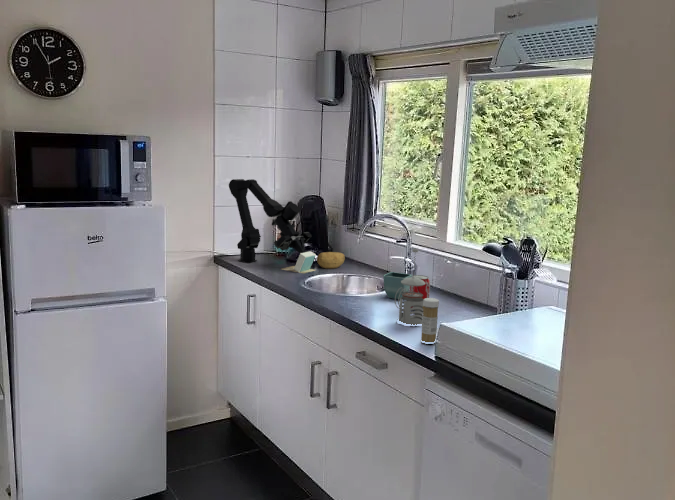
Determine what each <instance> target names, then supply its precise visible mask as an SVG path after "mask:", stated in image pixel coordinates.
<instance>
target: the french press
mask: <svg viewBox="0 0 675 500" xmlns="http://www.w3.org/2000/svg"><path fill="white" fill-rule="evenodd" d="M412 252H413V253H414V254H417V253H419V249H418V248H414V247H413V249H412ZM413 262H414V263H413V268H415V264H416V257H414V261H413ZM414 275H415V272H412V277H410V278H406V279H404V280H402V281H401V283H402V284H403V285H407V286H423V285H425V284H426V283H425V282H424V281H423V280H421V279H419V278H415V277H414ZM401 288H402V287H401ZM399 289H400V288H399ZM399 289H398V291H399ZM404 289H405V291H403V290H404ZM404 289H403V288H402V291H403V293H402V296H403V297H401V298H400V299H399V298H398V299H396V295H395V299H394V304H395V307H396V308H397V309H399V310H398V313H399V314H398V319H399V321H401V322H403V323H406V324H411V325H412V324H413V325H415V324H416V325H417V324H422V318H423V306H424V305H423V300H424V299H423V298H421V297H423V294H421V293H416V292H413V287H412V292H410V291H408V292H406V288H404ZM398 291H397V292H398ZM402 291H401V292H402ZM396 294H397V293H396ZM400 294H401V293H400ZM400 294H399V297H400ZM396 300H397V301H396ZM397 304H398V306H397ZM411 306H415V307H413V308H411ZM414 310H415V311H414Z"/></svg>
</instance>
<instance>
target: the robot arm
mask: <svg viewBox="0 0 675 500" xmlns="http://www.w3.org/2000/svg"><path fill="white" fill-rule="evenodd" d="M228 188H229V191H230V194H231V195H232V196H233V198H234V199H235V201H236V205H237V209H238V214H239V218H240V222H241V227H242V231H241V234H240V236H241V239H240V241H239V242H238V243H237V245H236V246H237V249H238V250H240V253H239V254H240V259H237V261H238V262H241V263H247V264H251V263H254V262H258V260H257V259H256V249H258V247H259V244H260V242H261V237H262V236H261V235H260V229H259V228H256V227H255V226H254V224H253V220H252V216H251V212H250V206H249V203H248V202H249V201H248V199H247V196H248V192H250V193H252V195H253V196H254V198H256V199H257V200H258V201H259V203H260V204H261V205H262V208H263V212H264V213H265V214H266V216H267V217H269V218H274V217H275V218H274V219H272V222H271V227H273V226H277V228H278V229H279V231H280V232H279V235H280V237H279V238H278V239H276V240H274V242H273V244H274V246H275V247H276V249H277V250H278V249H280V250H281V251H287V250H289V249H293V250H295V251H296V252H297V253H298V254H300V253H305V252H306V251H305V244H306V243H307V242H308V241H309V240H310V239H311V238H312V234H311V232H309V231H306V232H302V233H301V234H300V232H299V231H296V229H295V227H296V225H295V224H292V222H291V221H294V219H295V218H296V217H297V216H298V215H299V213H300V212H301V208H300V206H298V204H296V203H294V202H293V201H292V200H291V201H287V203H286V205H284V206H283V205H282V204H281V203H280V202H278V201H277V200H275V199H273V198H271V197H270V196H269V194H268V193H267V192H266V191H265V190H264V189H263V188H262V187H261V185H260V184H259V183H258V180H256V179H246V180H245V179H243V178H240V179H238V178H236V179H233V178H232V179H231V180H230V181H229V183H228Z"/></svg>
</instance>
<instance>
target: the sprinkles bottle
mask: <svg viewBox="0 0 675 500" xmlns="http://www.w3.org/2000/svg"><path fill="white" fill-rule="evenodd" d="M423 305H424V306H423V314H422V315H423V318H422V326H421V339H420V341H421V340H422V341H425V342H434V341H435V339H437V329H438V317H439V316H438V312H439V305H440V300H439V299H438V298H435V297H429V298H425V299H424V300H423Z"/></svg>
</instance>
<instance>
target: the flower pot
mask: <svg viewBox="0 0 675 500" xmlns="http://www.w3.org/2000/svg"><path fill="white" fill-rule="evenodd" d="M382 276H383V277H382V278H383V288H384V292H385V294H386V296H387V298H389V299H394V300H395V295H396V300H398V298H399V300H400V298H401V297H403V296H402V293H403V291H405V289H404V288H406V292H410V286H407V285H403V284H402V283H401V281H402V280H404V279H406V278H410V277H413V274H409V273H403V272H395V271H394V272H393V271H390V272H388V273H385V274H384V275H382ZM401 287H402V288H403V289H404V290H403V291H402V288H401ZM399 288H400V289H399ZM398 289H399V291H398ZM397 291H398V292H397ZM401 291H402V292H401ZM396 293H397V294H396ZM400 293H401V294H400ZM399 294H400V297H399Z"/></svg>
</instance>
